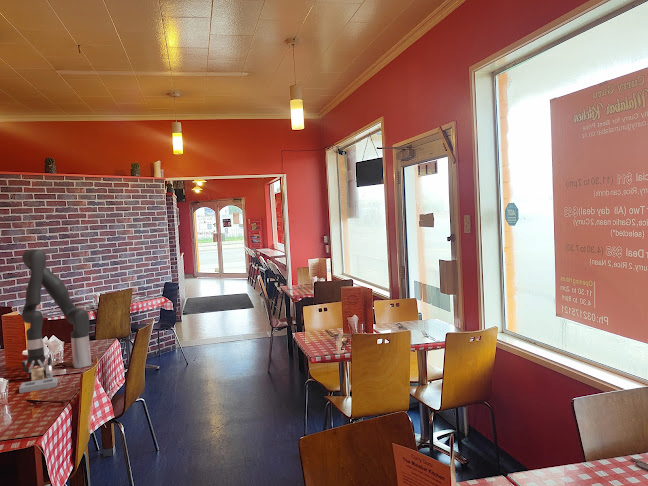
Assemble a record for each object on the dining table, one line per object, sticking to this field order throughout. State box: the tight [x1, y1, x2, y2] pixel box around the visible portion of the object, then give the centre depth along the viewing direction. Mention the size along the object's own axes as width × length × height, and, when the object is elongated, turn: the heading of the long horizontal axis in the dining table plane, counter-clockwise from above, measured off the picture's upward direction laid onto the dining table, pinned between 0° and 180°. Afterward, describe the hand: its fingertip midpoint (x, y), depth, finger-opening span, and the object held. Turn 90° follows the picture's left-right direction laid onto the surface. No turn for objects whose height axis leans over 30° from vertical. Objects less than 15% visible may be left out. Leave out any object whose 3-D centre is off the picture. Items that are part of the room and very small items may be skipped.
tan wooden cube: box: [30, 366, 46, 381], centre depth 262 cm, size 6×6×6 cm
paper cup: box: [21, 349, 39, 378], centre depth 271 cm, size 8×8×14 cm
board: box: [18, 376, 59, 394], centre depth 249 cm, size 16×10×2 cm, turn 115°
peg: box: [45, 364, 54, 379], centre depth 259 cm, size 3×3×8 cm
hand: (38, 377), depth 263 cm, fingers closed on tan wooden cube, 5 cm apart
